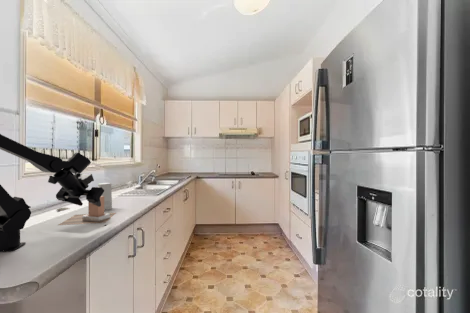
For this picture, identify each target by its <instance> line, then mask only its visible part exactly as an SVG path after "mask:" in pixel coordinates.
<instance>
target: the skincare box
mask: <svg viewBox="0 0 470 313" xmlns="http://www.w3.org/2000/svg"><path fill="white" fill-rule="evenodd" d="M97 187H102V188H103V189H104V192H103V194H102V195H101V196H104V211H105V210H113V203H112V202H113V200H112V198H113V197H112V195H113V194H112V183H110V182H101V183H97Z"/></svg>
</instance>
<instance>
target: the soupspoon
mask: <svg viewBox="0 0 470 313" xmlns="http://www.w3.org/2000/svg"><path fill="white" fill-rule="evenodd" d="M70 209H71V208H69V207H60V208H57V209H56V210H55V211H57V212H63V211H67V210H70Z"/></svg>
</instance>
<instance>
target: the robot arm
mask: <svg viewBox="0 0 470 313" xmlns="http://www.w3.org/2000/svg"><path fill="white" fill-rule="evenodd" d="M0 150H1V151H3V152H6V153H8V154H11V155H12V156H15V157H17V158H19V159H22V160H25V161H27V162H28V163H30V164H31V165H32V166H33V167H34V168H36V169H38V170H39V171H41V172H44V173H51V174H52V173H53V174H52V175H49V178H48V181H47V183H48V184H53V185H56V184H57V183H58V184H59V185H60V189H59V190H58V191H57V193H56V194H55V198H56V200H58V201H61V202H65V203H68V204H72V205H76V206H79V207H80V206H81V207H82V206H83V202H82V200H81V199H80V198H81V197H82V196H85V200H86V201H87V202H88V201H89V203H91V204H94V205H96V206H98V207H100V206H101V201H100V197H101V195H102V194H103V192H104V189H103V188H102V187H98V186H92V187H91V189H88V188H89V184H91V183H92V182H94V181H95V179H94V176H93V174H92V173H90V172H89V173H87V172H86V173H85V172H84V173H83V171H85V169H86V168H87V167H89V166H90V164H92V161H91V159H90V158H88V157H86V156H85V155H83V154H81V153H80V152H75V153H73V155H72V156H71V157H70V158H69V159H67V160H63V159H62V158H61V157H58V156H56V155H51V154H48V153H43V152H39V151H37V150H34V149H33V148H31V147H29V146H26V145H25V144H22V143H20V142H18V141H16V140H13V139H12V138H9V137H7V136H5V135H3V134H1V133H0ZM30 208H31V206H30V205H28V204H27V203H26V201H25V199H24V198H23V197H18V196H12V195H10V193H9V192H8V191H7V190H6V189H5V187H4V186H2V185H1V184H0V252H1V253H2V252H13V251H16V250H17V249H20V248H21V247H23V246H24V245H26V242H24V241H23V242H21V230H24V228H25V225H26V223H27V221H28V220H29V219H30V218H31V214H32V211H31V209H30Z"/></svg>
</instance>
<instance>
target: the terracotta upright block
mask: <svg viewBox="0 0 470 313" xmlns="http://www.w3.org/2000/svg"><path fill="white" fill-rule="evenodd" d="M100 201H101V206H100V207H98V206H96V205H94V204H91V203H89V201H87V202H88V209H87V210H88V214H89V216H97V217H99V216H102V215H104V213H105V210H104V196H101V197H100Z"/></svg>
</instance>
